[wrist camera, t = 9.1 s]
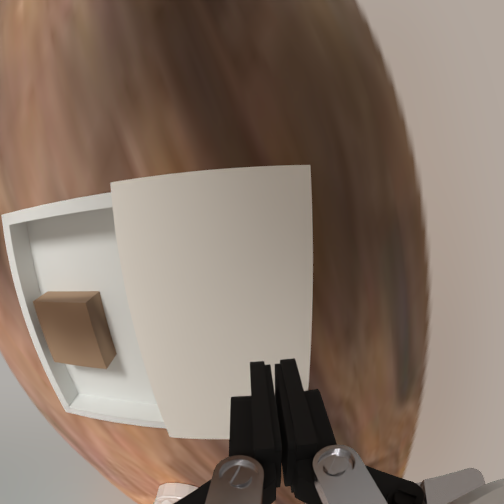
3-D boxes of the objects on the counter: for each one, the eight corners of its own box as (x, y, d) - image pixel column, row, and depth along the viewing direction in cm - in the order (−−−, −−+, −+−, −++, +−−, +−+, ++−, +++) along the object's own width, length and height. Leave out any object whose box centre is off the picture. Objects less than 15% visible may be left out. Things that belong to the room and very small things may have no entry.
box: (22, 210, 16) (1, 214, 13) (129, 190, 16) (111, 192, 13) (76, 395, 20) (66, 411, 18) (172, 407, 20) (167, 428, 18)
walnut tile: (85, 302, 15) (99, 291, 17) (32, 301, 15) (47, 291, 17) (106, 369, 16) (116, 353, 18) (54, 361, 16) (66, 348, 18)
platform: (131, 181, 16) (110, 182, 13) (298, 167, 16) (310, 164, 13) (176, 411, 20) (169, 437, 17) (298, 407, 20) (304, 433, 17)
